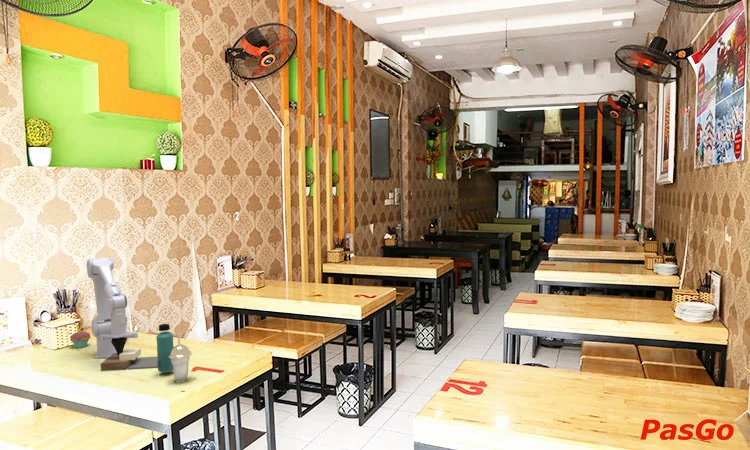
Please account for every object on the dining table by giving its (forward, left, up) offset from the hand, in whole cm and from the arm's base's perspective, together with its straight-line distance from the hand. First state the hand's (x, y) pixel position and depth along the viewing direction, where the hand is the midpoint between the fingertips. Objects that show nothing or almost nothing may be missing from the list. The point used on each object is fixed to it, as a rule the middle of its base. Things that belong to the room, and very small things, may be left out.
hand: (120, 355), depth 222 cm
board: (0, 0, -4) cm, 4 cm away
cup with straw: (+24, +31, -4) cm, 39 cm away
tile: (0, +4, 0) cm, 4 cm away
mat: (0, +11, -4) cm, 12 cm away
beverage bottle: (+15, +23, -4) cm, 28 cm away
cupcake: (-32, -29, -4) cm, 44 cm away
